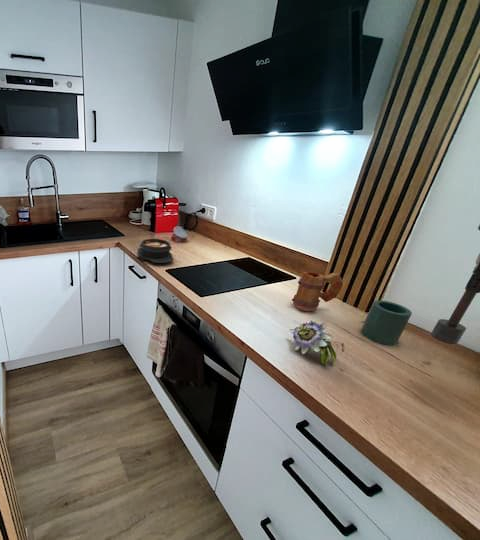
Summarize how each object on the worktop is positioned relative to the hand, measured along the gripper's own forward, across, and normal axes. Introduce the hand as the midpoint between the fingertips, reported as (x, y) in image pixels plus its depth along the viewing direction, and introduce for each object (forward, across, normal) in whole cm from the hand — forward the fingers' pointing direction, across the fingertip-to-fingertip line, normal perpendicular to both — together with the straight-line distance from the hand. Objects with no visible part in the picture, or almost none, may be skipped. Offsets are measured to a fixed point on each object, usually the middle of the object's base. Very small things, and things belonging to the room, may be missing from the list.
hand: (472, 289), depth 62 cm
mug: (+28, +20, +32) cm, 47 cm away
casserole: (+28, +8, +105) cm, 109 cm away
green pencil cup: (+28, +19, +12) cm, 36 cm away
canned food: (+28, +43, +119) cm, 130 cm away
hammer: (+13, 0, 0) cm, 13 cm away
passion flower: (+28, -8, +22) cm, 37 cm away
